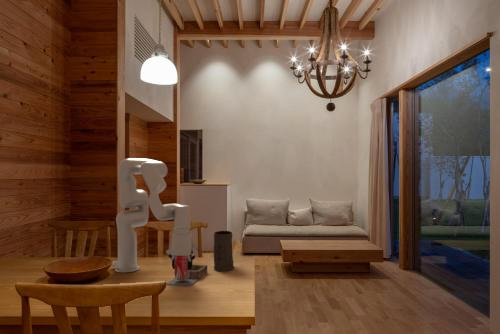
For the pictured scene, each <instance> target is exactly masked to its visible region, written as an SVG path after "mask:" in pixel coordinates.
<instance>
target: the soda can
mask: <svg viewBox="0 0 500 334" xmlns="http://www.w3.org/2000/svg"><path fill="white" fill-rule="evenodd" d="M188 261H189V260H188V258H187V256H175V269H174V278H176V279H177V280H187V279H188V278H189V276H190V270H188Z"/></svg>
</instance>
